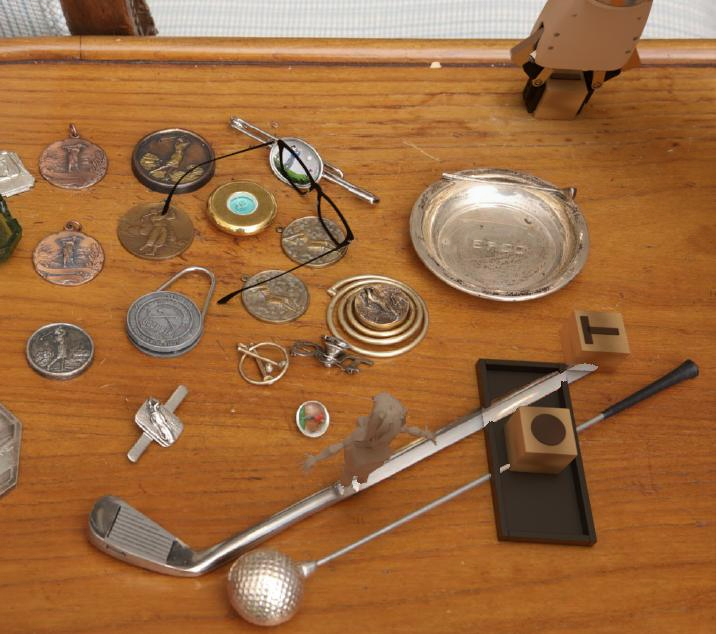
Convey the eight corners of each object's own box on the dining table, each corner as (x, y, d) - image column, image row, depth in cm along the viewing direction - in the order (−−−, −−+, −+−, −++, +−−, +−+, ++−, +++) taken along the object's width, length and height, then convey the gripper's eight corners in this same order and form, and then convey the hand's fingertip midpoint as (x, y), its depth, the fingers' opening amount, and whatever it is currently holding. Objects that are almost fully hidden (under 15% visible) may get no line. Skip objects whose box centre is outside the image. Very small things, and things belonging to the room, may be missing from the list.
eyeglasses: (356, 260, 97) (363, 237, 93) (225, 317, 93) (228, 296, 90) (277, 154, 104) (281, 129, 101) (153, 203, 101) (153, 179, 97)
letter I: (566, 92, 110) (582, 63, 106) (572, 120, 108) (588, 91, 103) (528, 90, 110) (542, 61, 106) (534, 118, 108) (548, 89, 104)
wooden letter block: (602, 336, 92) (622, 311, 88) (610, 375, 90) (631, 352, 86) (557, 333, 92) (575, 308, 88) (564, 373, 90) (583, 349, 86)
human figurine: (402, 459, 85) (455, 367, 70) (417, 497, 83) (475, 410, 68) (278, 487, 84) (305, 399, 68) (290, 526, 82) (321, 445, 66)
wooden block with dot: (551, 429, 86) (570, 407, 82) (558, 474, 84) (578, 454, 80) (502, 426, 86) (519, 404, 82) (509, 471, 84) (526, 450, 80)
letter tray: (557, 371, 90) (564, 362, 88) (589, 548, 81) (597, 542, 79) (473, 366, 90) (478, 357, 89) (495, 542, 81) (502, 536, 80)
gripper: (692, -45, 95) (617, 85, 110) (527, -53, 95) (475, 78, 111) (710, 3, 91) (629, 131, 106) (538, -5, 91) (482, 124, 107)
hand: (551, 103), depth 108 cm, fingers closed on letter I, 4 cm apart
